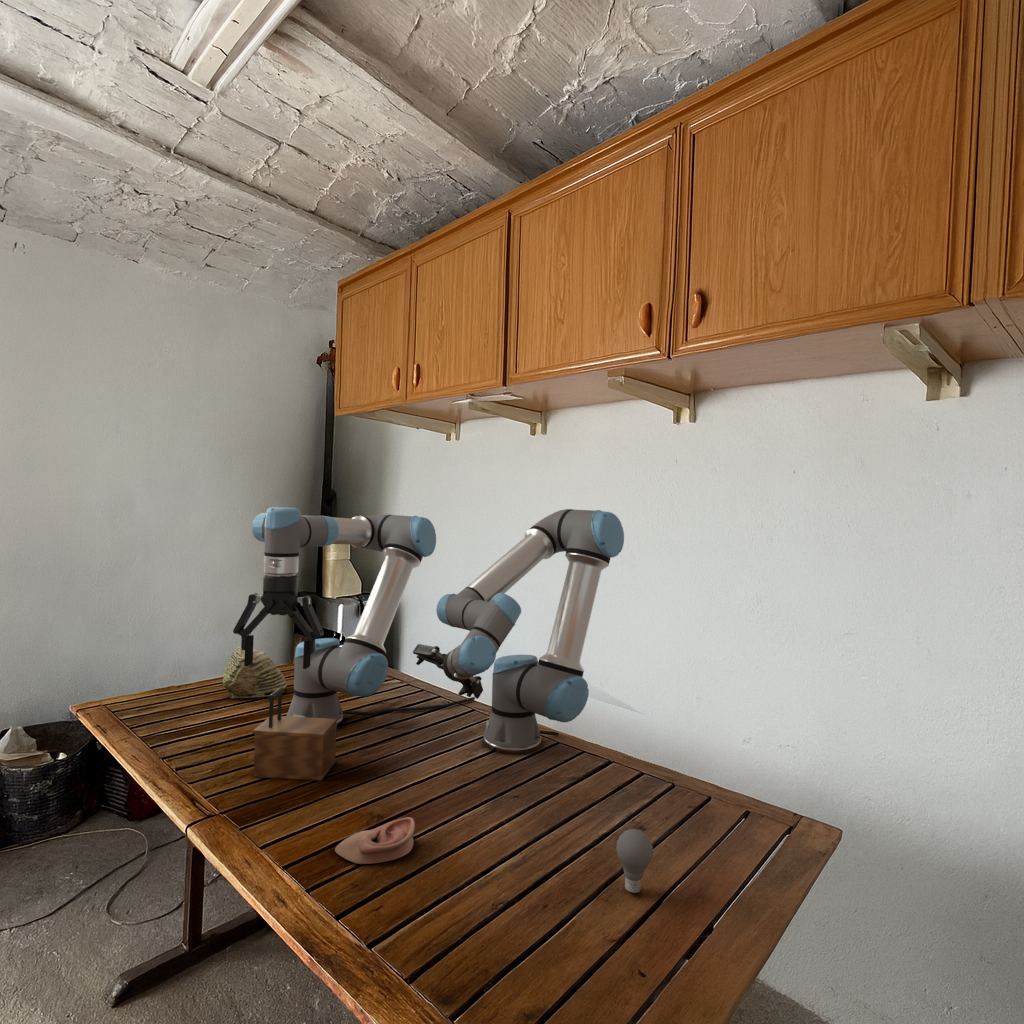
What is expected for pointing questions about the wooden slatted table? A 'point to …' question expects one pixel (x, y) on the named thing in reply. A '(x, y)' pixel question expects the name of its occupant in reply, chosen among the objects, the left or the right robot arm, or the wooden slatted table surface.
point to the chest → (294, 756)
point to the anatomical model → (379, 843)
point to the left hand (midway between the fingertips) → (277, 666)
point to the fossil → (252, 675)
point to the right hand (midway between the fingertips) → (440, 675)
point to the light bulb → (634, 857)
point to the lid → (292, 722)
